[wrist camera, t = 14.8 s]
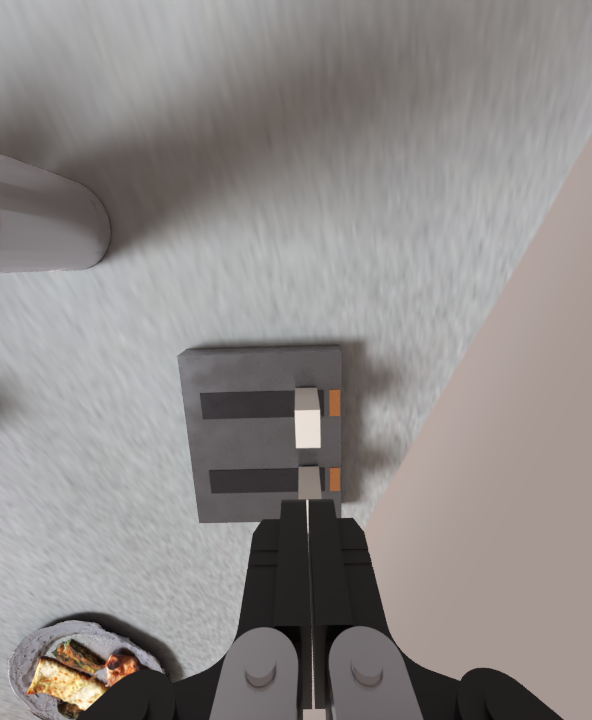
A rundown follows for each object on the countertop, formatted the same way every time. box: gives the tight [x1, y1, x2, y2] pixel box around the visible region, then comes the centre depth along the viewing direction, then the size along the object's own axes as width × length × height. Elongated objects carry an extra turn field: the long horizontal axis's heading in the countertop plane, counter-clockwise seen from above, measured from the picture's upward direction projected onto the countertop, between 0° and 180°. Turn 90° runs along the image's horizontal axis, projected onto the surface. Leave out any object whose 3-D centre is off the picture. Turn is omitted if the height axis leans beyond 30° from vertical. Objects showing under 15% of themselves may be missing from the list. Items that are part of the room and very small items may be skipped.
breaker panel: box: [177, 345, 342, 523], centre depth 42 cm, size 18×22×3 cm
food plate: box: [8, 620, 168, 720], centre depth 54 cm, size 25×23×4 cm
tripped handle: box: [298, 466, 322, 528], centre depth 39 cm, size 2×4×6 cm, turn 2°
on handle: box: [295, 388, 321, 448], centre depth 36 cm, size 2×4×6 cm, turn 2°
